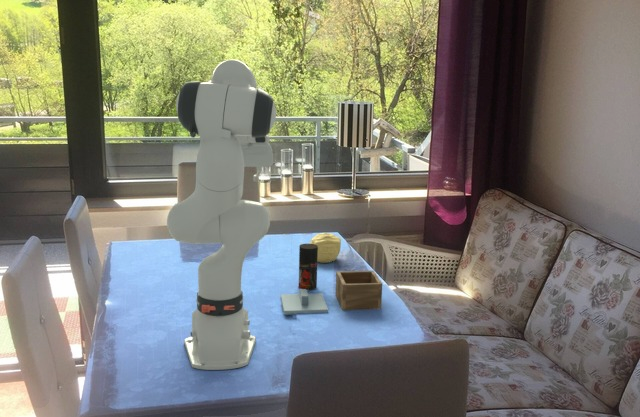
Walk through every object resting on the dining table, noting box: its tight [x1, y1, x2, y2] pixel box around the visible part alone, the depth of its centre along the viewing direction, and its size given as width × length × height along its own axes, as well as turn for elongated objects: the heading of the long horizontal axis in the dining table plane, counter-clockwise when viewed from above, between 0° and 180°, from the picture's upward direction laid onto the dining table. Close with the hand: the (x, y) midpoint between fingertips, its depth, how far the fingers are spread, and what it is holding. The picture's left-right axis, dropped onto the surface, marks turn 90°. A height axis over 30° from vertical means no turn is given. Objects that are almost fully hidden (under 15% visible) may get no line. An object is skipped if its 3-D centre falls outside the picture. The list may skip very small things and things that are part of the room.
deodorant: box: [298, 243, 318, 291], centre depth 209 cm, size 6×6×15 cm
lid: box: [280, 288, 329, 316], centre depth 195 cm, size 13×13×5 cm
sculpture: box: [309, 232, 342, 264], centre depth 239 cm, size 12×12×11 cm
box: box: [335, 270, 383, 311], centre depth 198 cm, size 12×12×9 cm
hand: (240, 181), depth 196 cm, fingers open, 8 cm apart
